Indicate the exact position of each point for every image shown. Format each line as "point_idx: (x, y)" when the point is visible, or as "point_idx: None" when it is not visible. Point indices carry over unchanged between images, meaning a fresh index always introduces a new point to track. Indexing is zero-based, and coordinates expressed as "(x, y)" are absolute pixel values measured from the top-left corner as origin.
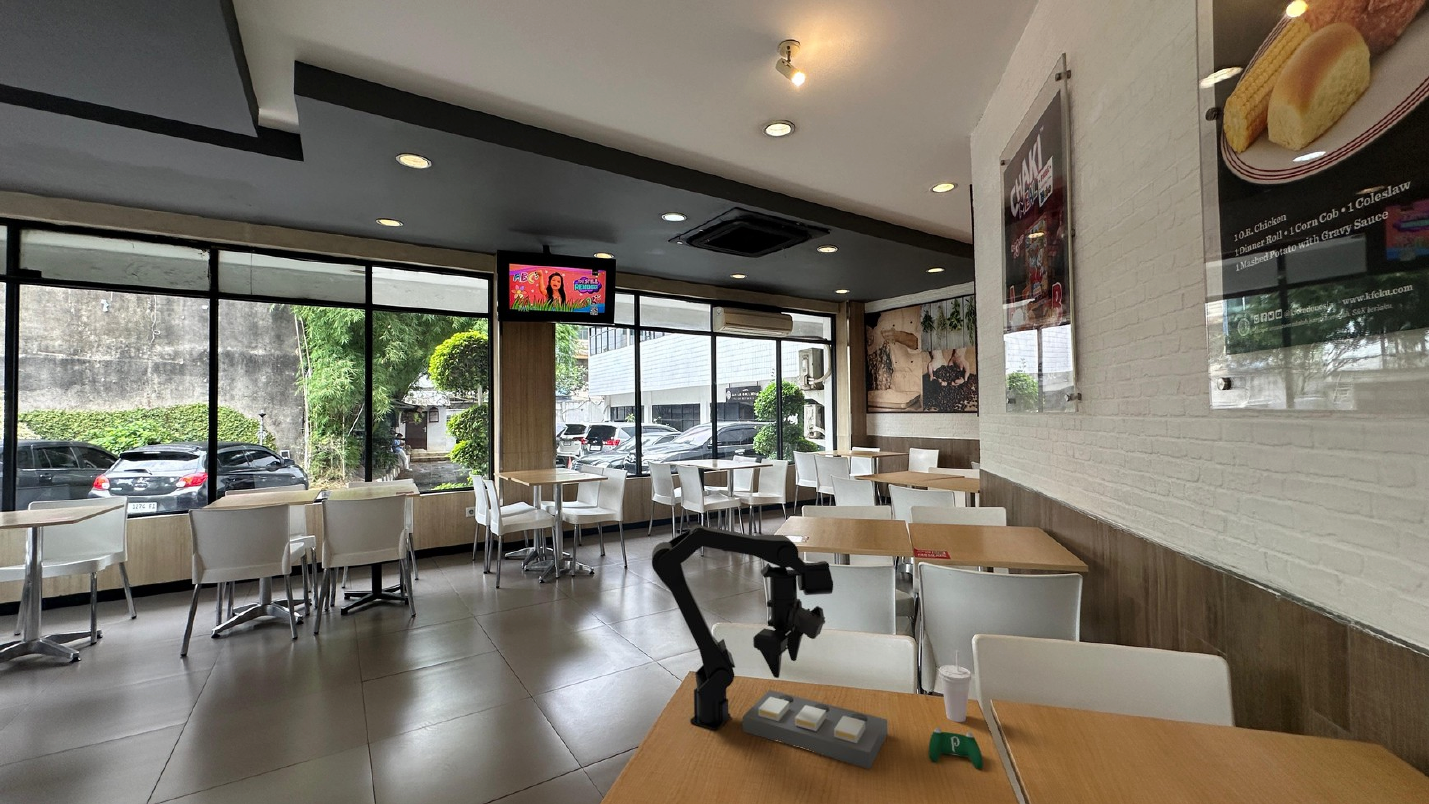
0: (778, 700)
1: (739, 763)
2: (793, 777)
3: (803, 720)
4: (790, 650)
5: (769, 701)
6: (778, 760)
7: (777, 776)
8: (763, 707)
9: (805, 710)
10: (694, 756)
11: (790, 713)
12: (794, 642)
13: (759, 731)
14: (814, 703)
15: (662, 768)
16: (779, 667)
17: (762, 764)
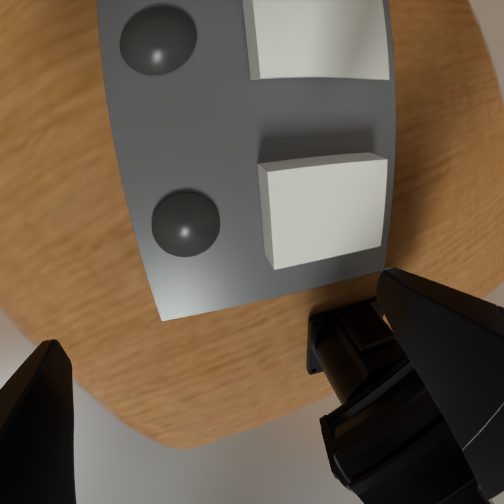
0: (285, 221)
1: (462, 173)
2: (456, 41)
3: (384, 41)
4: (62, 429)
5: (314, 246)
6: (429, 92)
7: (467, 76)
8: (367, 235)
9: (310, 56)
10: (460, 260)
11: (290, 138)
12: (23, 478)
13: None
14: (129, 94)
15: (485, 274)
16: (458, 298)
17: (452, 124)
